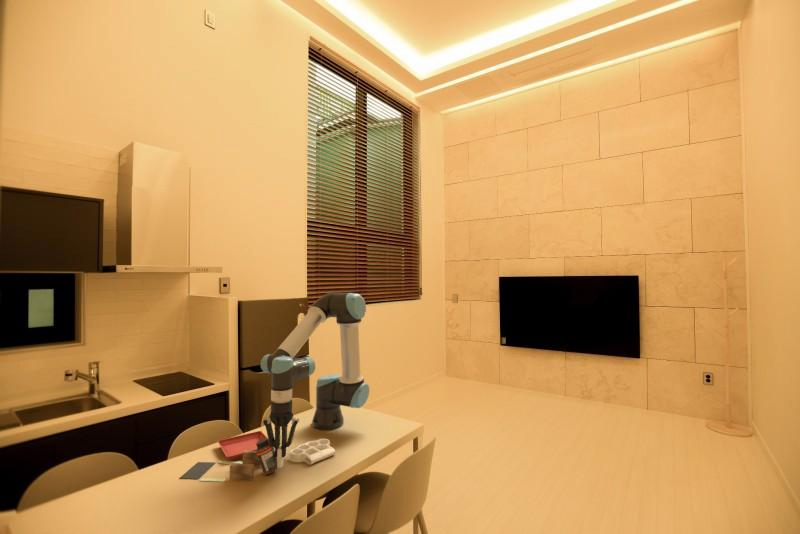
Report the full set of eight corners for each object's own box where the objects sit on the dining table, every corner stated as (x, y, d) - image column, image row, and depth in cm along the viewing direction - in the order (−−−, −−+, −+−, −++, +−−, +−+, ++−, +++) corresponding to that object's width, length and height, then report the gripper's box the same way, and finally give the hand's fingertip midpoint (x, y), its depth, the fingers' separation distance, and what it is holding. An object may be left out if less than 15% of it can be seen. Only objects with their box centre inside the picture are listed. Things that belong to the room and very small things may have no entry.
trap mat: (215, 463, 147) (215, 462, 147) (198, 479, 135) (198, 478, 135) (197, 462, 147) (197, 461, 147) (179, 478, 135) (179, 478, 135)
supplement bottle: (263, 471, 142) (253, 442, 142) (279, 463, 144) (269, 434, 144) (264, 477, 136) (253, 446, 136) (280, 468, 139) (270, 438, 139)
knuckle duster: (304, 470, 143) (282, 457, 153) (341, 454, 157) (320, 443, 166) (304, 460, 143) (283, 449, 153) (341, 445, 157) (320, 435, 166)
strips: (241, 462, 148) (241, 461, 148) (223, 482, 133) (223, 481, 133) (220, 461, 148) (220, 460, 148) (199, 481, 134) (199, 480, 134)
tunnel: (265, 464, 146) (265, 451, 146) (251, 480, 134) (252, 466, 134) (244, 463, 146) (244, 450, 147) (229, 480, 134) (229, 465, 135)
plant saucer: (226, 465, 146) (226, 456, 146) (216, 448, 161) (216, 440, 161) (273, 453, 157) (274, 444, 157) (260, 438, 171) (261, 430, 171)
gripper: (260, 403, 137) (258, 470, 136) (296, 403, 137) (294, 471, 136) (267, 396, 145) (266, 460, 144) (302, 397, 144) (300, 461, 143)
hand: (280, 465), depth 140 cm, fingers closed
